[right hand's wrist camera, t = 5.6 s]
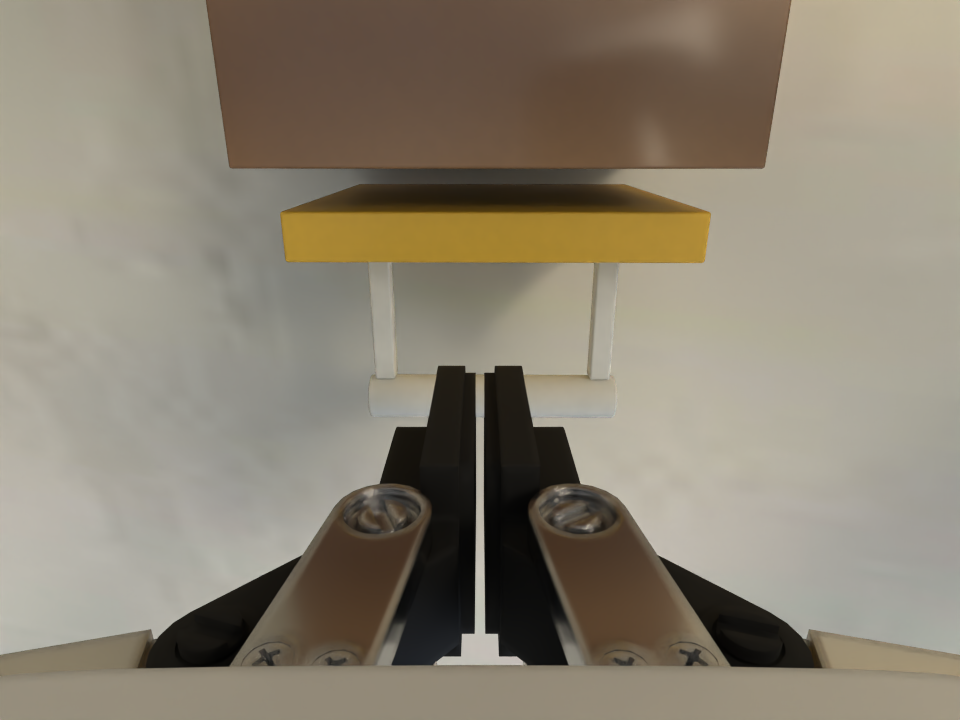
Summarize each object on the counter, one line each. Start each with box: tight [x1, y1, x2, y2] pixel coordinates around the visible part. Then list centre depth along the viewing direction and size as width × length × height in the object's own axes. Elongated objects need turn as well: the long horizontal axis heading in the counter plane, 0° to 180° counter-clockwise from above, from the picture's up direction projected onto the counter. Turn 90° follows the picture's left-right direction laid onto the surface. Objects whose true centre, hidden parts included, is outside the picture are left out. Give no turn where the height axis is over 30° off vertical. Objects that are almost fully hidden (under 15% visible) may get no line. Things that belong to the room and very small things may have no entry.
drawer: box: [280, 184, 711, 418], centre depth 17 cm, size 20×10×9 cm, turn 0°
